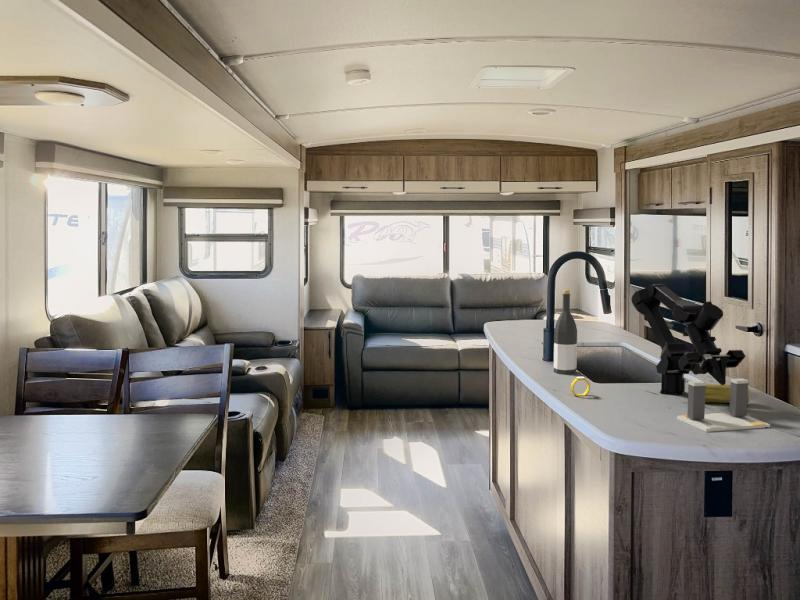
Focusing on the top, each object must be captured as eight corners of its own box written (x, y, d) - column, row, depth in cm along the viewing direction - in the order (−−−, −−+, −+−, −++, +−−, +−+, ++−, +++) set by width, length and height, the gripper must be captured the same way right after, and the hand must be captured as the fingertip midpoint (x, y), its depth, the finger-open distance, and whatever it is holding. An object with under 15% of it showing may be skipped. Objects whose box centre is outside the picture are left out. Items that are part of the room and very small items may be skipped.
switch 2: (729, 414, 203) (730, 378, 202) (740, 413, 203) (742, 378, 202) (735, 416, 200) (736, 380, 199) (746, 415, 201) (748, 380, 200)
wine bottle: (554, 374, 262) (555, 290, 259) (553, 369, 270) (554, 288, 266) (577, 374, 260) (578, 291, 257) (575, 370, 268) (577, 288, 265)
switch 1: (687, 417, 200) (688, 381, 199) (698, 416, 201) (700, 380, 200) (692, 419, 198) (694, 383, 197) (704, 418, 198) (705, 382, 197)
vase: (746, 381, 220) (695, 380, 224) (749, 387, 214) (697, 386, 218) (745, 400, 221) (694, 399, 225) (749, 407, 215) (696, 406, 219)
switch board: (677, 418, 203) (677, 415, 203) (737, 414, 206) (738, 411, 206) (705, 431, 190) (706, 428, 190) (769, 427, 194) (770, 423, 194)
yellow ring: (574, 398, 228) (573, 379, 227) (570, 396, 231) (569, 377, 230) (591, 395, 229) (590, 377, 229) (587, 393, 232) (586, 375, 231)
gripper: (716, 354, 225) (738, 397, 216) (661, 356, 221) (681, 401, 212) (734, 332, 217) (758, 376, 207) (677, 334, 213) (699, 380, 203)
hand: (723, 384), depth 208 cm, fingers closed
